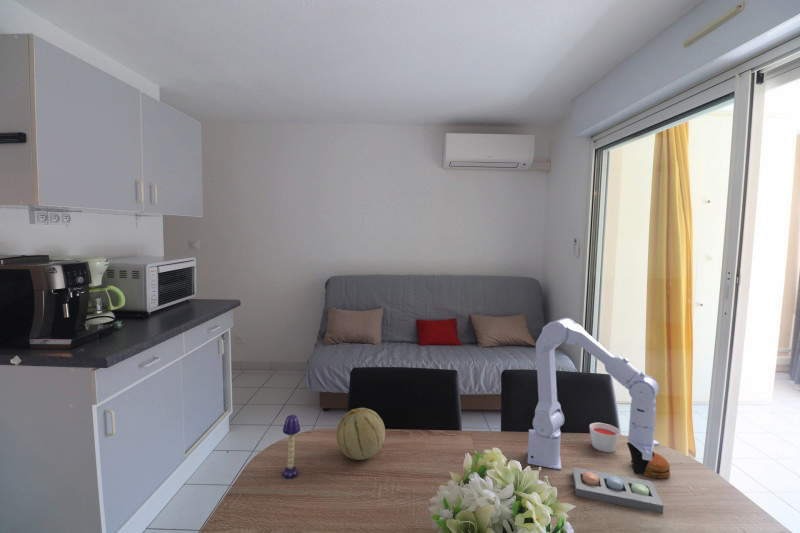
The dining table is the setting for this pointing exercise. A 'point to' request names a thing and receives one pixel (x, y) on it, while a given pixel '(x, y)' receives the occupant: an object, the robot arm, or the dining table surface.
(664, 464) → the burger
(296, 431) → the toy lamp
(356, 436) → the cantaloupe
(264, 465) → the dining table surface
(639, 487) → the green button
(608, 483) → the blue button
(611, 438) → the candle
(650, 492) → the button panel
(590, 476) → the terracotta button
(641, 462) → the robot arm
